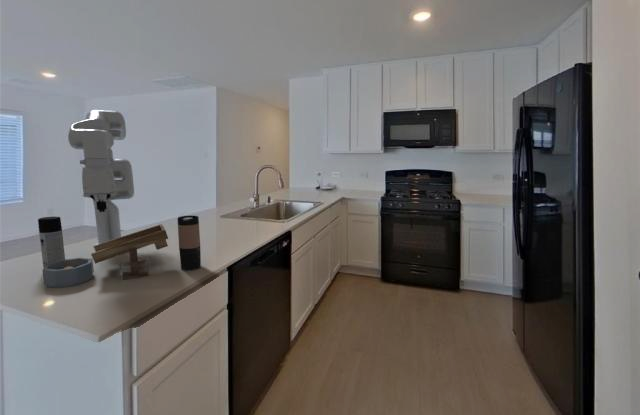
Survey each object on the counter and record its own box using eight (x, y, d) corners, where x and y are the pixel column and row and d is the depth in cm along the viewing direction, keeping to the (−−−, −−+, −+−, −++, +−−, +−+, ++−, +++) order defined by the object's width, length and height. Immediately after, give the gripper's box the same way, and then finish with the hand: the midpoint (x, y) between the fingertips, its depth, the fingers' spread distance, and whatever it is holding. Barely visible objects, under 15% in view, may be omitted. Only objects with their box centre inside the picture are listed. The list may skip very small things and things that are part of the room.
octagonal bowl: (50, 277, 115) (47, 261, 114) (94, 271, 122) (93, 255, 121) (42, 291, 104) (39, 273, 103) (92, 283, 111) (90, 266, 110)
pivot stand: (122, 265, 128) (120, 239, 127) (145, 262, 133) (143, 237, 131) (122, 280, 113) (119, 251, 112) (148, 276, 117) (145, 248, 116)
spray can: (52, 266, 127) (45, 216, 124) (70, 265, 128) (64, 216, 124) (39, 272, 120) (32, 219, 117) (58, 271, 121) (52, 219, 118)
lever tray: (101, 256, 129) (95, 240, 127) (165, 234, 140) (160, 220, 138) (98, 271, 112) (91, 254, 110) (171, 245, 123) (165, 229, 121)
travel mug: (193, 263, 132) (191, 214, 129) (205, 266, 128) (202, 216, 124) (176, 268, 126) (172, 217, 123) (188, 272, 121) (184, 220, 118)
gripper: (70, 164, 114) (76, 215, 118) (120, 163, 122) (124, 211, 125) (73, 163, 121) (79, 211, 124) (120, 162, 128) (124, 208, 132)
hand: (102, 211), depth 125 cm, fingers closed
